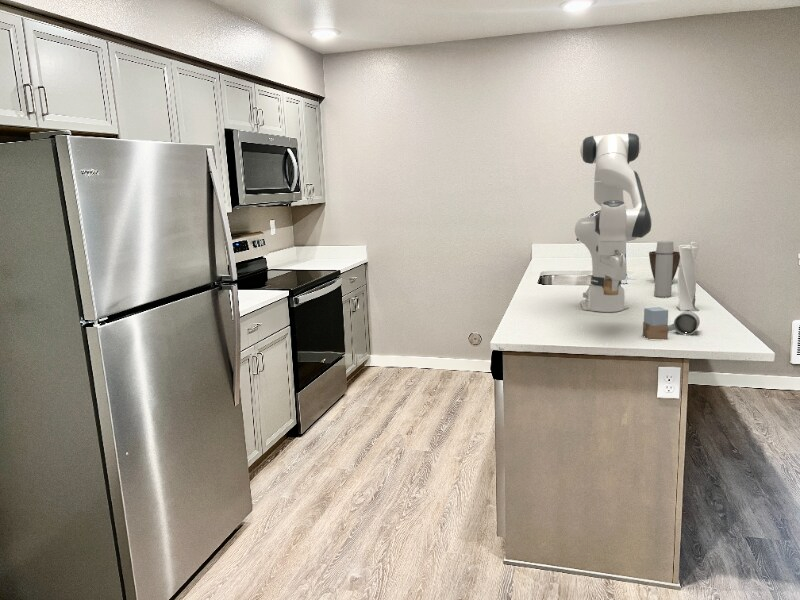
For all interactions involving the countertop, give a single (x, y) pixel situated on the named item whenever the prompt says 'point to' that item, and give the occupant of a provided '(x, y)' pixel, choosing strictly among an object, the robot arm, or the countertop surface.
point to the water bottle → (663, 269)
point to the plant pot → (675, 262)
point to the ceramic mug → (685, 323)
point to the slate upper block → (656, 316)
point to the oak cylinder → (609, 287)
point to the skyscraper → (687, 277)
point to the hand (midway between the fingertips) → (611, 289)
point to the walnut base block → (655, 331)
